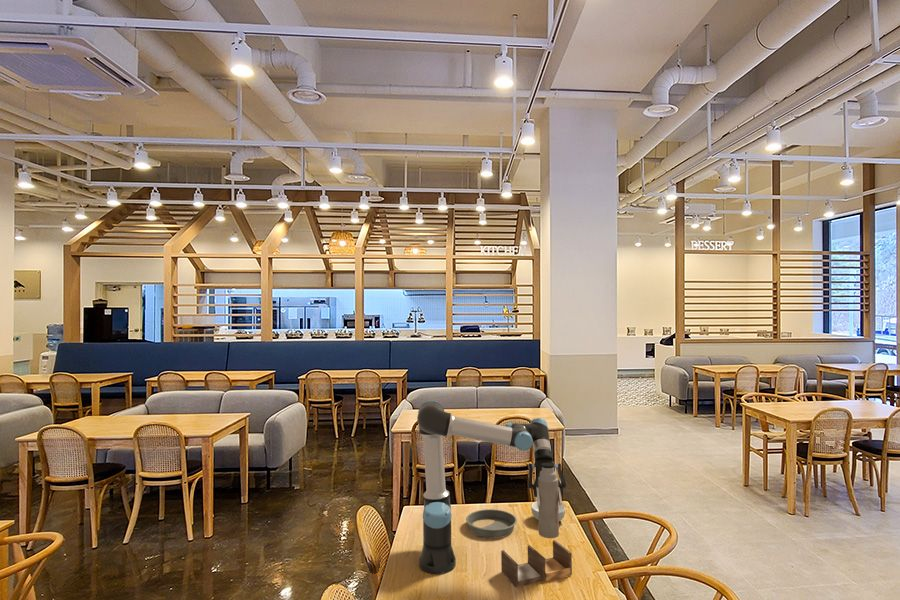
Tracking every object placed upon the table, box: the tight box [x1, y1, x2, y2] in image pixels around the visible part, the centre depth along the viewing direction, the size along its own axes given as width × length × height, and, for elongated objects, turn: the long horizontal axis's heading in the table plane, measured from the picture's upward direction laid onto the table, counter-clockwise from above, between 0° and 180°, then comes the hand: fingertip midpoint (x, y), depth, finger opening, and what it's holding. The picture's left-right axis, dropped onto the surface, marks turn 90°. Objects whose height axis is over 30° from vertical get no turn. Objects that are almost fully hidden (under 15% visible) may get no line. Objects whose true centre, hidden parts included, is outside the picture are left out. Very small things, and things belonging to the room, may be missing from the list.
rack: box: [500, 539, 573, 588], centre depth 197 cm, size 25×13×8 cm, turn 111°
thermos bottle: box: [537, 463, 560, 539], centre depth 200 cm, size 8×8×28 cm
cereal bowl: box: [530, 501, 566, 522], centre depth 247 cm, size 17×17×7 cm
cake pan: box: [465, 508, 518, 539], centre depth 240 cm, size 25×25×4 cm
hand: (549, 504), depth 197 cm, fingers closed on thermos bottle, 8 cm apart
